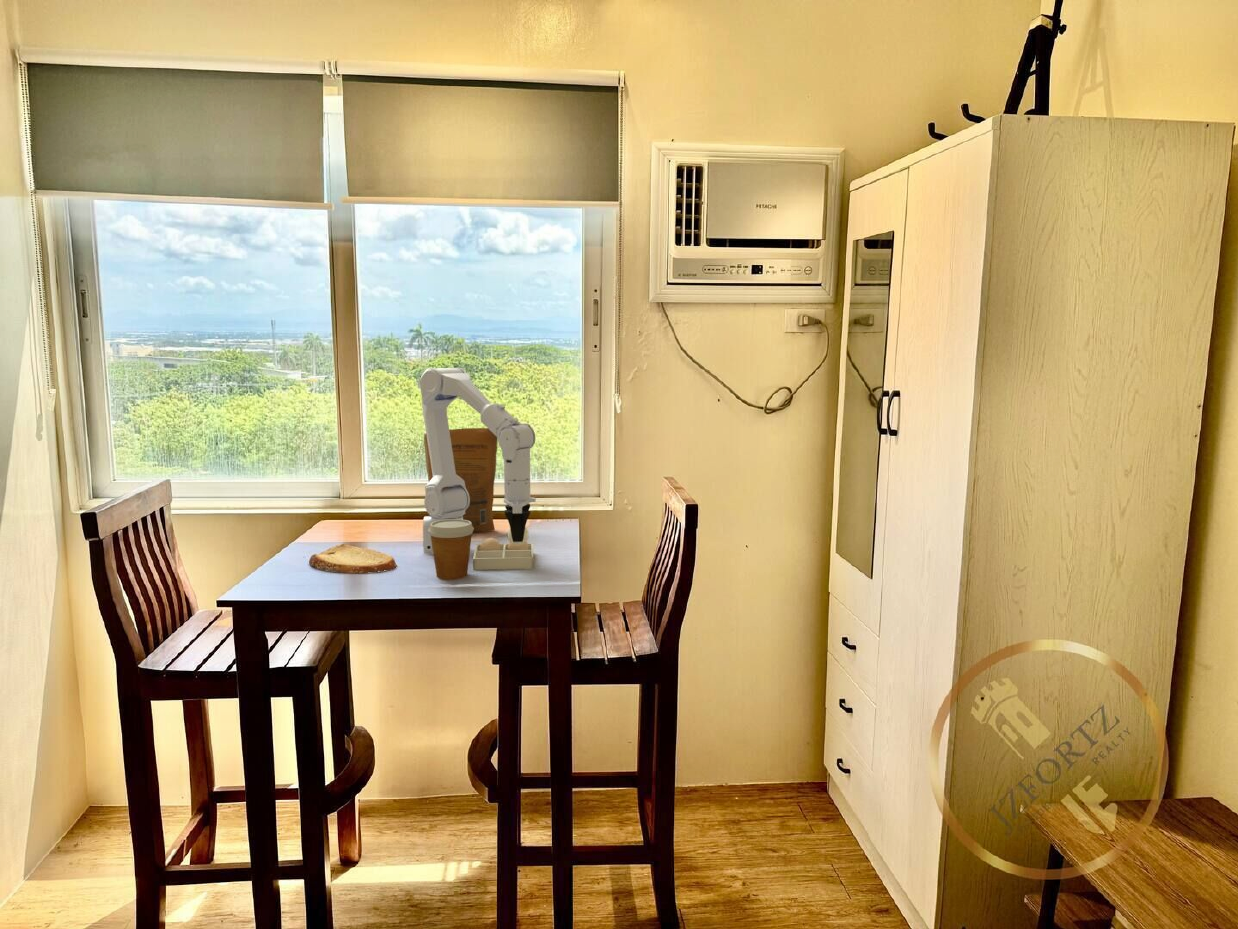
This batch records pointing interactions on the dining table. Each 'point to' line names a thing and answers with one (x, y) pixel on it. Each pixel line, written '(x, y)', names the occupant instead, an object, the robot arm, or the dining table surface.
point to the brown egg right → (518, 546)
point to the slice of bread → (352, 560)
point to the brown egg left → (490, 545)
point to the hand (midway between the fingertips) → (517, 538)
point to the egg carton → (503, 558)
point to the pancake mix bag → (474, 472)
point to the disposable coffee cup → (451, 547)
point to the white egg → (518, 542)
